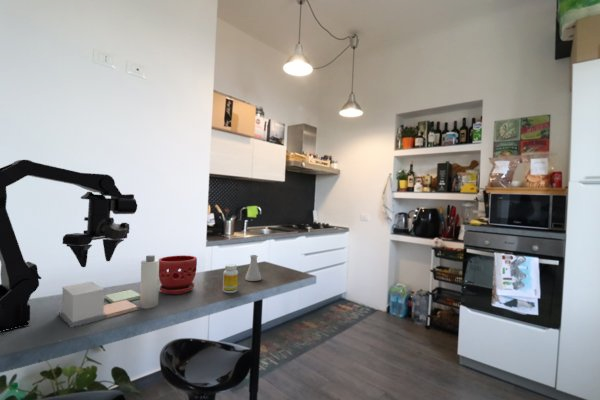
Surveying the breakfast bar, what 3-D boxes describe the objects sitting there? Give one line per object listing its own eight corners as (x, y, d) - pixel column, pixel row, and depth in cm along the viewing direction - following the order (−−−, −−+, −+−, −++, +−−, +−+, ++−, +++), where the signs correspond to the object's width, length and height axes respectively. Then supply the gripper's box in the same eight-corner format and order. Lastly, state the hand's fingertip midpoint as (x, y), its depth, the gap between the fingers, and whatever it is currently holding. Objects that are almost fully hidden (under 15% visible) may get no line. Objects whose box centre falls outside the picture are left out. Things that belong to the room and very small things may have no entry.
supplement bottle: (221, 289, 108) (221, 264, 108) (235, 287, 111) (235, 262, 111) (224, 294, 104) (225, 267, 103) (239, 292, 106) (240, 266, 106)
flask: (242, 277, 125) (243, 254, 124) (259, 276, 128) (259, 253, 128) (247, 282, 118) (247, 258, 118) (264, 280, 121) (264, 257, 121)
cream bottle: (144, 309, 88) (145, 258, 87) (137, 305, 91) (138, 255, 91) (160, 305, 92) (162, 256, 91) (153, 301, 95) (154, 253, 94)
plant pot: (203, 288, 109) (204, 256, 109) (175, 299, 97) (176, 263, 97) (178, 282, 114) (179, 252, 114) (148, 292, 103) (149, 258, 102)
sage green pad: (114, 304, 91) (114, 301, 91) (104, 298, 96) (105, 295, 96) (141, 298, 97) (141, 295, 97) (131, 292, 102) (131, 289, 102)
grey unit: (71, 327, 75) (72, 296, 75) (58, 314, 82) (59, 286, 82) (106, 318, 81) (107, 289, 81) (92, 306, 89) (92, 280, 88)
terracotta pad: (106, 318, 81) (106, 314, 81) (96, 310, 86) (96, 306, 86) (137, 309, 87) (137, 306, 87) (126, 302, 92) (126, 299, 92)
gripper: (97, 216, 81) (94, 273, 81) (142, 214, 99) (140, 260, 99) (62, 214, 82) (59, 269, 82) (113, 212, 101) (110, 257, 101)
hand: (96, 264), depth 91 cm, fingers open, 9 cm apart
